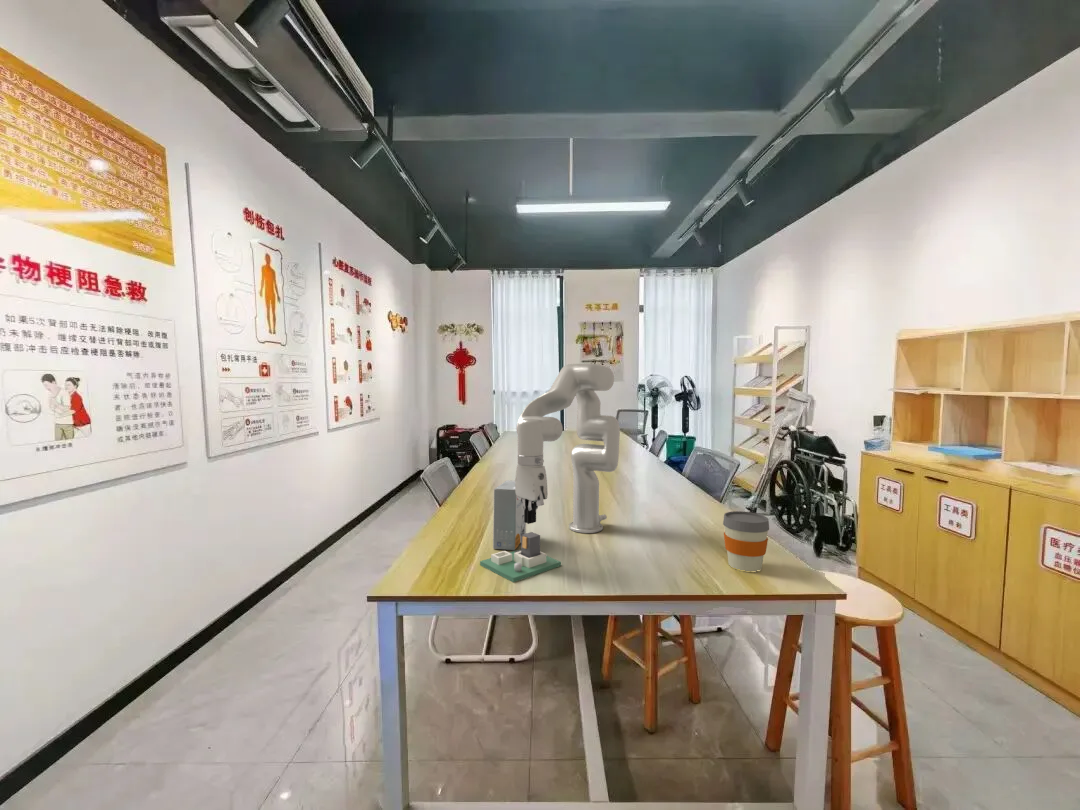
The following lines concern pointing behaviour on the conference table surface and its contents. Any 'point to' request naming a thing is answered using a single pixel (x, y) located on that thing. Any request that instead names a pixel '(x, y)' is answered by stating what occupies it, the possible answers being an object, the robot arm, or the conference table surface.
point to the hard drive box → (507, 517)
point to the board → (525, 571)
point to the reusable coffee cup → (745, 539)
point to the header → (529, 559)
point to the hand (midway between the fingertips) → (530, 522)
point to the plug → (530, 544)
